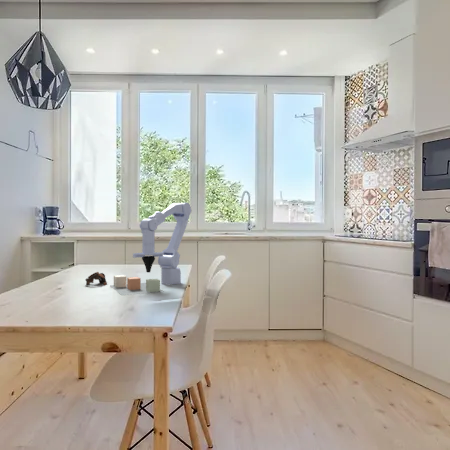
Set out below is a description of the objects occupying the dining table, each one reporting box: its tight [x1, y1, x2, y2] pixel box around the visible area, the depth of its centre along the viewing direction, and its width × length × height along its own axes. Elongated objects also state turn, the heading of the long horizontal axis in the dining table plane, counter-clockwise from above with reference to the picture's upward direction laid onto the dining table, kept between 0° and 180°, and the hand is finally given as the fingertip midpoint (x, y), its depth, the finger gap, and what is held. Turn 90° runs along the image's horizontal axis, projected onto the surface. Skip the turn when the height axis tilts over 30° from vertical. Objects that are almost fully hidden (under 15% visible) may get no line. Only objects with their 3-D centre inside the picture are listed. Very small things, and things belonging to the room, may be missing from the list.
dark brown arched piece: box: [85, 271, 108, 286], centre depth 189 cm, size 12×10×8 cm
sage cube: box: [145, 278, 161, 293], centre depth 172 cm, size 5×5×5 cm
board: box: [110, 282, 165, 296], centre depth 177 cm, size 19×26×1 cm
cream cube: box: [113, 274, 127, 288], centre depth 183 cm, size 5×5×5 cm
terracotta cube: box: [126, 276, 142, 290], centre depth 177 cm, size 5×5×5 cm
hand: (148, 272), depth 180 cm, fingers closed
